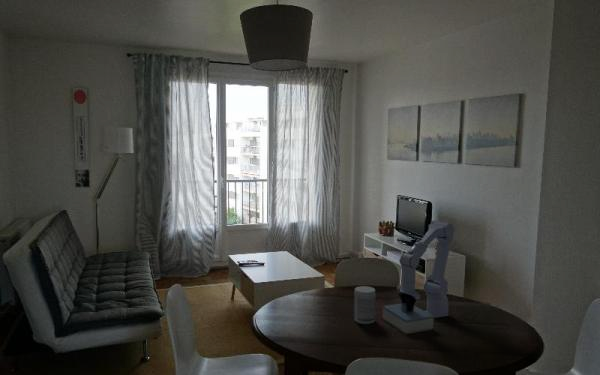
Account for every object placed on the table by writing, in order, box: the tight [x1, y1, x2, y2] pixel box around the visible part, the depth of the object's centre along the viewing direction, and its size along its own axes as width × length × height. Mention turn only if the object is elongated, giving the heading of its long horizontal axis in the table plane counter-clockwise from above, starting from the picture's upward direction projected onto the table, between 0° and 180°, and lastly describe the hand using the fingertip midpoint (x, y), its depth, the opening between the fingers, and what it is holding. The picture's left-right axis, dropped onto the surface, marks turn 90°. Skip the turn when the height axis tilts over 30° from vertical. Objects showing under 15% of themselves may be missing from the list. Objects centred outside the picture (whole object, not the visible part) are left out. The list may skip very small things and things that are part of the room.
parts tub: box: [382, 308, 434, 335], centre depth 201 cm, size 14×18×5 cm
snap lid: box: [382, 302, 434, 323], centre depth 201 cm, size 14×18×6 cm
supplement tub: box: [353, 285, 377, 325], centre depth 204 cm, size 10×10×15 cm
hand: (407, 310), depth 201 cm, fingers closed on snap lid, 2 cm apart
